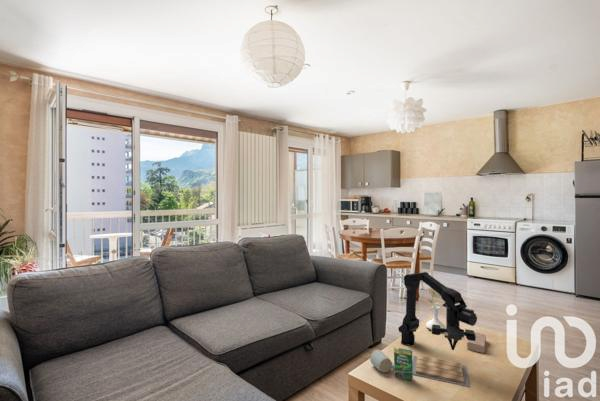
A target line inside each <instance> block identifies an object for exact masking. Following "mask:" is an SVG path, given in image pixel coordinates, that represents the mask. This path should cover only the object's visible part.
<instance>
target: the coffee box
mask: <svg viewBox="0 0 600 401" xmlns="http://www.w3.org/2000/svg"><path fill="white" fill-rule="evenodd" d="M393 358H394V359H393V361H394V362H393V364H394V368H393V369H394V370H393V371H394V377H395V378H398V379H402V380H405V381H410V382H412V381H413V378H414V375H413V364H412V361H413V350H412V349H406V348H400V347H397V346H394V349H393Z"/></svg>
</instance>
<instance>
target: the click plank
mask: <svg viewBox="0 0 600 401" xmlns="http://www.w3.org/2000/svg"><path fill="white" fill-rule="evenodd" d="M416 356H417V362H416V363H417V364H422V365H427V366H432V367H437V368H442V369H447V370H452V371H457V372H462V365H463V364H462V363H461V362H458V361H452V360H447V359H442V358H441V359H440V358H438V357H437V358H436V357H432V356H431V357H430V356H426V355H420V354H417V355H416Z"/></svg>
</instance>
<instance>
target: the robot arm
mask: <svg viewBox="0 0 600 401" xmlns="http://www.w3.org/2000/svg"><path fill="white" fill-rule="evenodd" d="M421 282H422V283H424V284H426V285H427V286H429V288H430V287H431V288H432V289H434V290H435V291H436V292H437V293H439V294H440V296H439V297H440V298H441V300H442V301H444V303H443V304H442V307H445V308H446V309H445V310H446V316H445V319H446V320H445V321H446V322H445V324H446V325H445V327H446V329H444V328H440V325H434V324H433V325H432V330H431V334H432V335H436V336H440V335H441V333H443V334H444V338H446V339H447V340H448V342H449V345H450V348H451V350H452V351H455V348H456V345H457V344H458V342H459V341H462V339H463V338H466V339H467V340H471V341H476V336H475V332H476V331H475V330H472V329H466V328H464V329H462V328H460V322H461V323H464V324H466V325H469V326H471V327H473V326H475V325H476V324H477V322H478V317H477V314H476V313H475V310H473V309H469V308H467V307H468V305H467V303H466V302H465V300H464V298H463V296H462V293H460V291H458V290H456V289H454V288H452V287H451V288H450V287H447V286H445V284H442V283H441V282H440V281H439V280H437V279H436V278H434V277H433V276H432V275H430V274H429V272H427V271H423V272H419V273H416V272H414V273H413V272H412V273H409V274H405V275H404V276H403V285H404V286H405V288H406V302H405V304H406V306H405V315H404V317H403V319H402V324H401V325H399V326H398V332H399V333H401V334H400V335H401V337H400V338H401V340H400V345H401V344H402V345H406V346H412V347H413V346H414V344H415V338H416V336H415V334H414V333H415V332H417V331H418V329H419V327H420V319H419V318H418V317H417V316H416V309H417V290H418V288H419V286H420V283H421Z"/></svg>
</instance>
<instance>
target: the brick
mask: <svg viewBox="0 0 600 401" xmlns="http://www.w3.org/2000/svg"><path fill="white" fill-rule="evenodd" d="M474 332H475V336H476V341H471V340H468V339H467V340H466V349H468V350H469V351H471V352H477V353H482V354H484V353H485V352H486V341H487V340H486V338H487V337H486V336H487V335H486V334H484V333H481V332H476V331H474Z"/></svg>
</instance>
